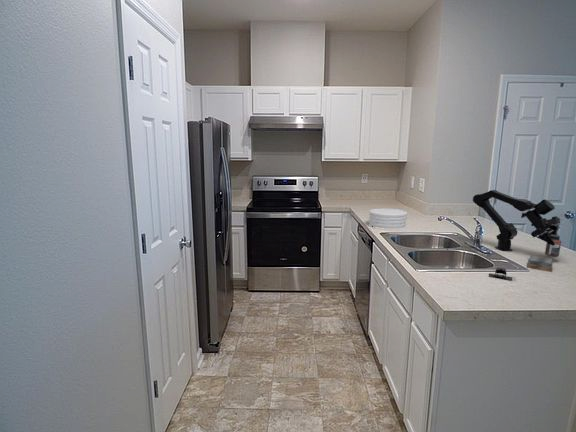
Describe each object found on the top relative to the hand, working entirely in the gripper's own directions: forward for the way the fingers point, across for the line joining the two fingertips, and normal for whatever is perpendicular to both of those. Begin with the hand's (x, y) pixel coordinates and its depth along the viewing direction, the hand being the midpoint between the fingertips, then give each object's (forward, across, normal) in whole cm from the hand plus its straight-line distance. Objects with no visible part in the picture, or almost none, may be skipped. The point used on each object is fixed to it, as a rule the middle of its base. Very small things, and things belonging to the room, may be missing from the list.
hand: (556, 244), depth 174 cm
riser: (+7, -16, +6) cm, 19 cm away
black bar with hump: (+6, -47, +9) cm, 48 cm away
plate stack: (-67, -14, +82) cm, 107 cm away
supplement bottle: (+4, 0, +6) cm, 7 cm away
